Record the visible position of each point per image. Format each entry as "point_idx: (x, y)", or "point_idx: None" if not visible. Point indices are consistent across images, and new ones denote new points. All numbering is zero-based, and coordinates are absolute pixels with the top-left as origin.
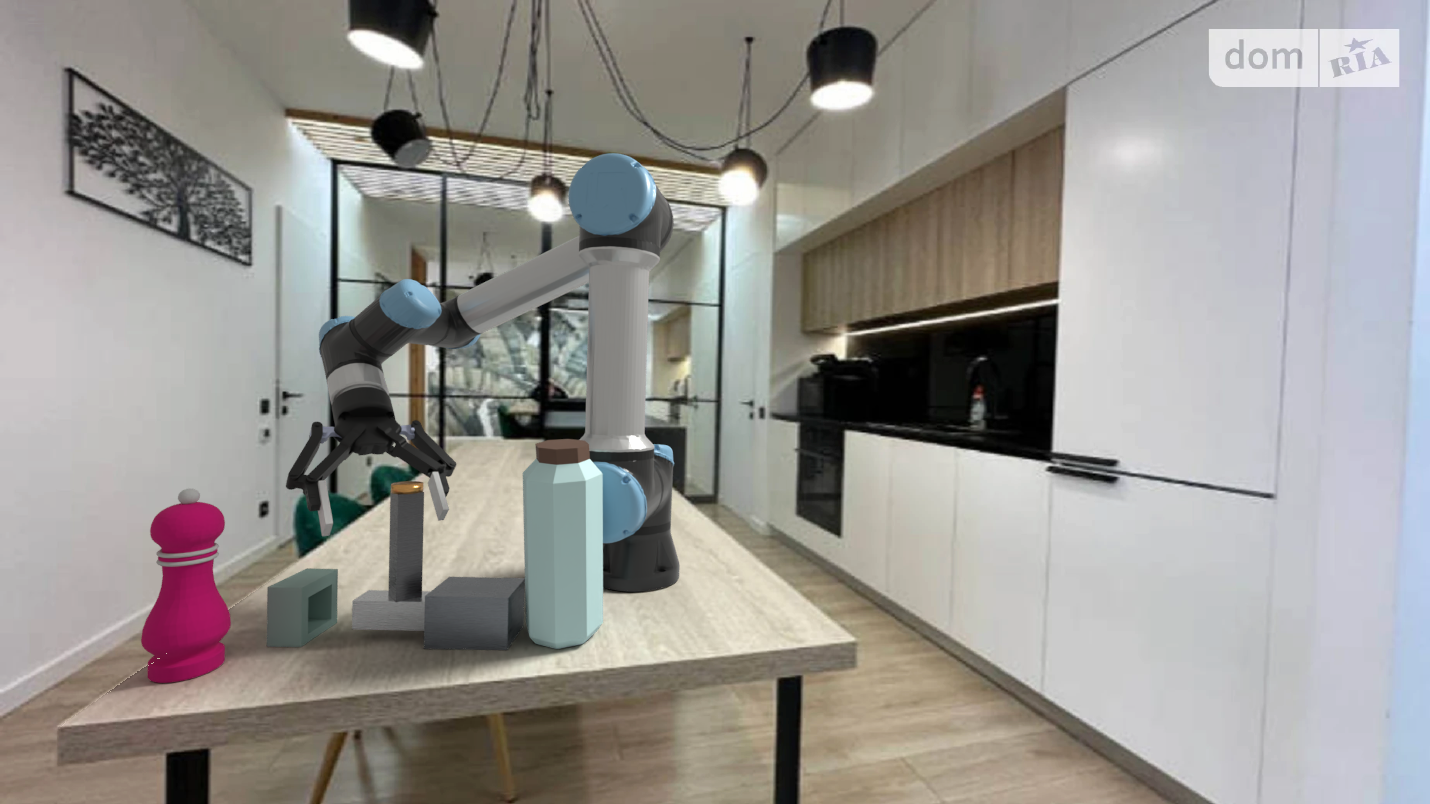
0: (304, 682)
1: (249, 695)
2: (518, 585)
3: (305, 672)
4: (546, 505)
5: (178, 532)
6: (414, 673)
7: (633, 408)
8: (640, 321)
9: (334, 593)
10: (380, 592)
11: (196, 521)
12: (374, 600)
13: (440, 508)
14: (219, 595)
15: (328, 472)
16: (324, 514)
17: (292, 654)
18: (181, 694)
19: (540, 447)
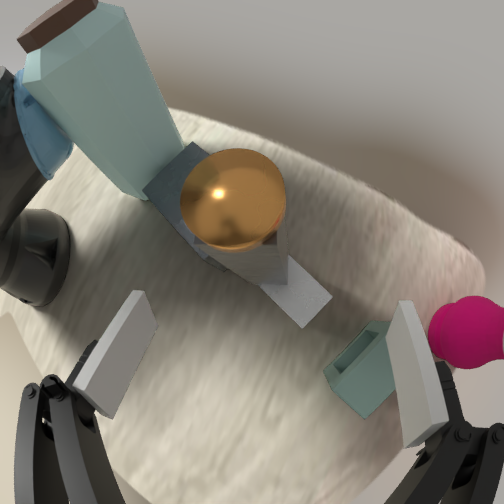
0: (380, 228)
1: (416, 235)
2: (161, 171)
3: (377, 250)
4: (133, 33)
5: None
6: (296, 180)
7: None
8: None
9: (333, 375)
10: (292, 305)
11: None
12: (309, 277)
13: (142, 313)
14: (470, 329)
15: (398, 494)
16: (419, 320)
17: (380, 305)
18: (453, 276)
19: None
